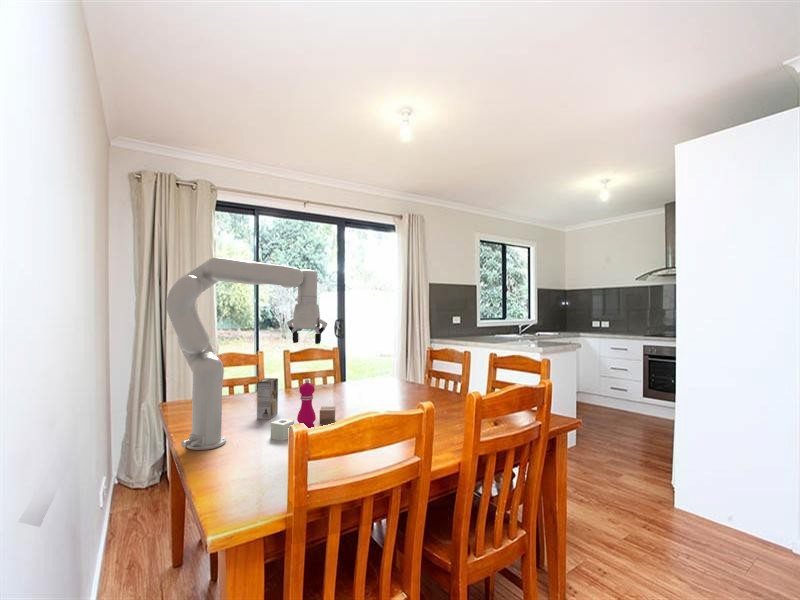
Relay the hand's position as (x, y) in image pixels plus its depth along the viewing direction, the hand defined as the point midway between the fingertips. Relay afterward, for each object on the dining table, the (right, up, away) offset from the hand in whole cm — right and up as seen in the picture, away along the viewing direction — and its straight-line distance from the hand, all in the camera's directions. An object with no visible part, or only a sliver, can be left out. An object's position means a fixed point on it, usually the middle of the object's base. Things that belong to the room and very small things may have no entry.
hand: (306, 343), depth 161 cm
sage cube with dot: (-7, -34, -11) cm, 36 cm away
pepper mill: (0, -34, -1) cm, 34 cm away
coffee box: (-21, -34, +16) cm, 43 cm away
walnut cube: (+7, -35, +8) cm, 36 cm away
